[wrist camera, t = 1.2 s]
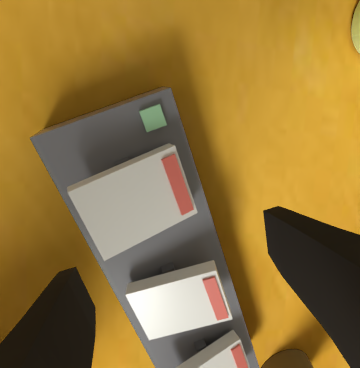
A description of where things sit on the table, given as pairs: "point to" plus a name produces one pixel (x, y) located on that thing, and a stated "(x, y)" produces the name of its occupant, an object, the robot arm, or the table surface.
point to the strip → (160, 243)
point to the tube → (356, 28)
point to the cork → (288, 360)
